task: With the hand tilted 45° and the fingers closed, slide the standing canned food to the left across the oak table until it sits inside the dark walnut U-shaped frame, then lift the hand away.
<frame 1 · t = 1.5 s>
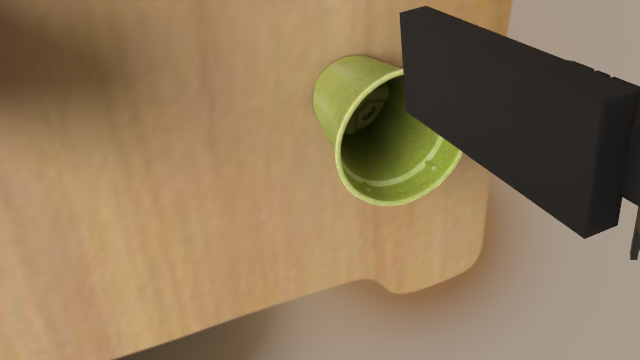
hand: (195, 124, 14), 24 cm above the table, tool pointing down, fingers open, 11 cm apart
plant pot: (347, 94, 43), on the table
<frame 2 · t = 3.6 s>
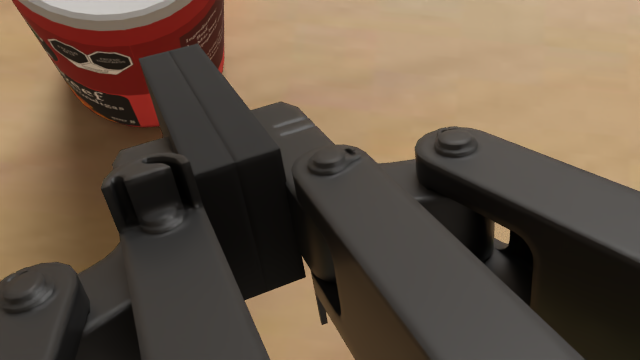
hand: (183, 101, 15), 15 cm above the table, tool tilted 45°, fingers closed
canned food: (148, 65, 31), on the table
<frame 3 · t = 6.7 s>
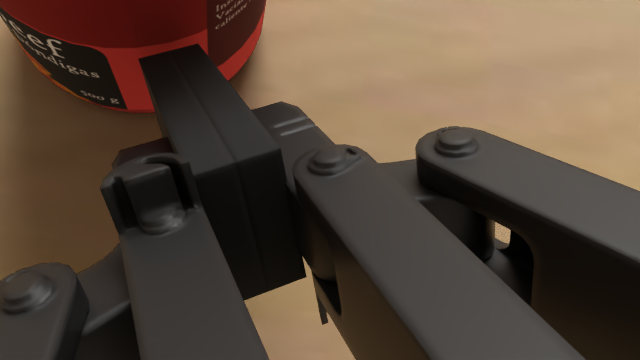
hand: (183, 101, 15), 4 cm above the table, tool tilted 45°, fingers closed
canned food: (146, 20, 20), on the table, touching gripper
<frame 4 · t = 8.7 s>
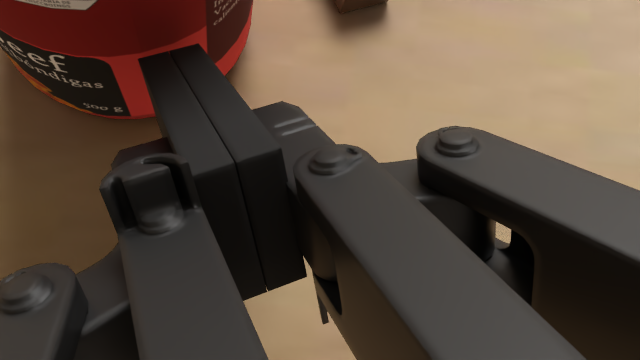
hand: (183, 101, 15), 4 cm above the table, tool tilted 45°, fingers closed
canned food: (134, 26, 20), on the table, touching gripper
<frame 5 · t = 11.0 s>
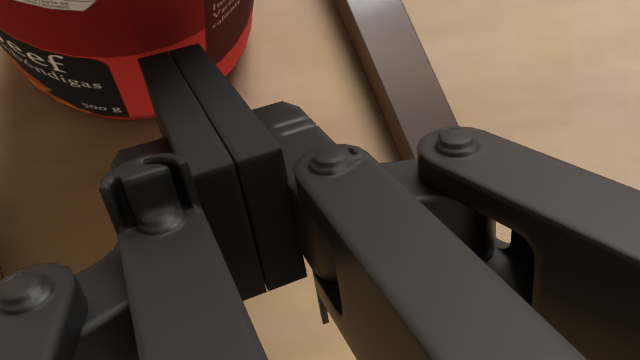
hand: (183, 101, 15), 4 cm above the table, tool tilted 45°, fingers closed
canned food: (135, 27, 20), on the table, touching gripper
walnut frame: (170, 74, 20), on the table
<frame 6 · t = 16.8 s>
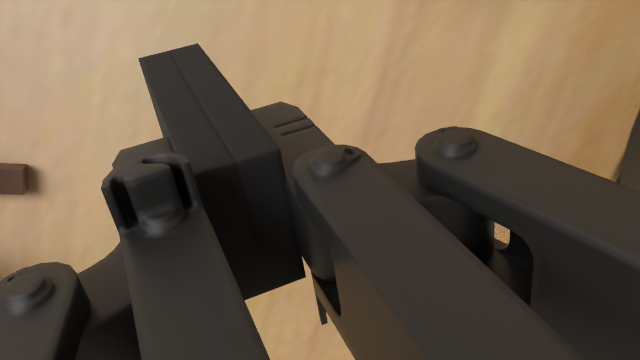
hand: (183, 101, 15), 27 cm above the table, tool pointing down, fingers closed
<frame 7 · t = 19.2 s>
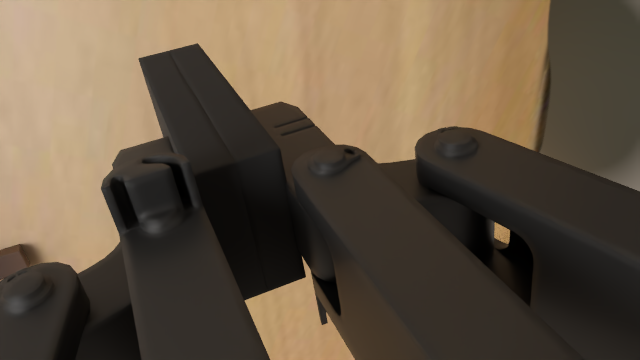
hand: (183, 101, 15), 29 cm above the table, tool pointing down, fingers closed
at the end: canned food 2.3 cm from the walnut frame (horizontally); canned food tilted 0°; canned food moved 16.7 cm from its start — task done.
